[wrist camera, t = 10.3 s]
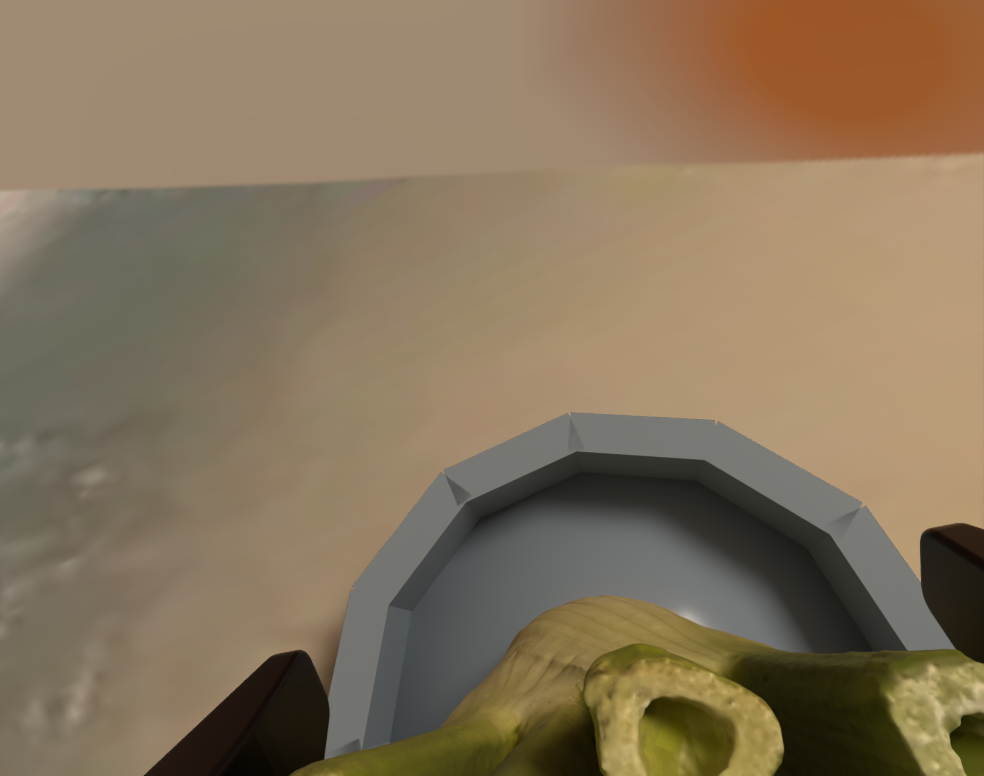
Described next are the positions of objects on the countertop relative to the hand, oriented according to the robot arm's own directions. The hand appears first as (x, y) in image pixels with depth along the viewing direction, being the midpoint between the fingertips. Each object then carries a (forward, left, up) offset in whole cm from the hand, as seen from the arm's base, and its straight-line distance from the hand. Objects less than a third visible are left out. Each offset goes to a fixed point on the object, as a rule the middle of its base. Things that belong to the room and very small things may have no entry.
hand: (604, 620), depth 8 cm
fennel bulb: (-2, 0, -8) cm, 9 cm away
